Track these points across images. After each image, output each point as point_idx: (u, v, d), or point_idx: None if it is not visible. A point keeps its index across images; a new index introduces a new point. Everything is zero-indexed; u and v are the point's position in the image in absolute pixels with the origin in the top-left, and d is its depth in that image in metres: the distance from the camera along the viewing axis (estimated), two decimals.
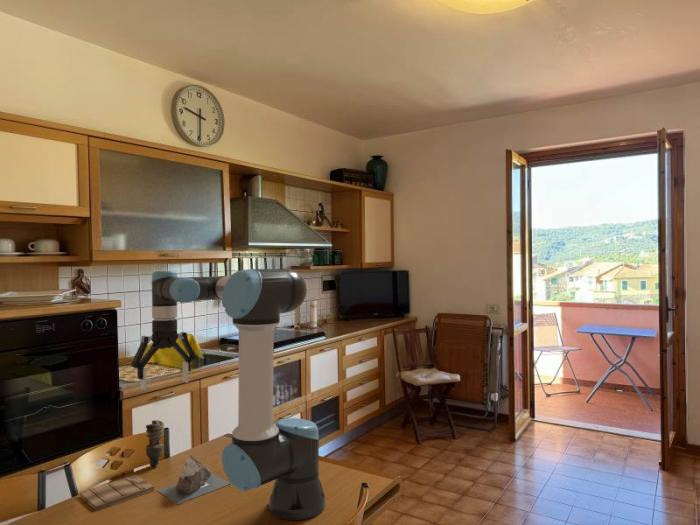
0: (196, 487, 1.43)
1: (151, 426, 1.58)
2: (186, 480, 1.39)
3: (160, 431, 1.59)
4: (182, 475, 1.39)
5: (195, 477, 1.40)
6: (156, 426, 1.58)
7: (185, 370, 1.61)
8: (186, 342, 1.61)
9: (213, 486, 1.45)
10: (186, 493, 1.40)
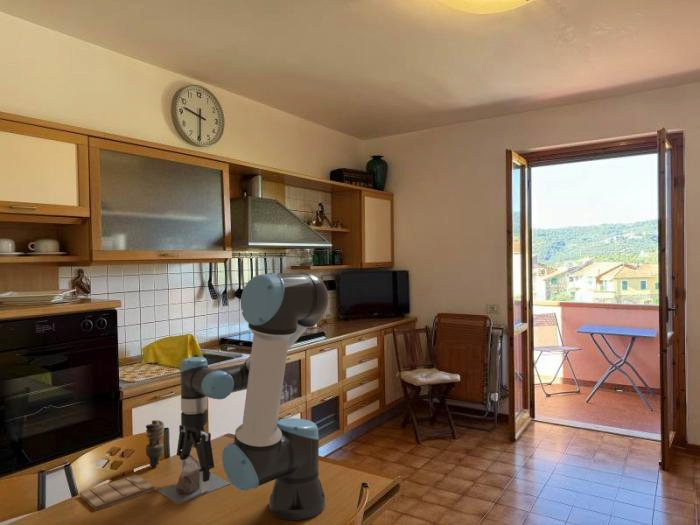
0: (196, 487, 1.43)
1: (151, 426, 1.58)
2: (186, 480, 1.39)
3: (160, 431, 1.59)
4: (182, 475, 1.39)
5: (195, 477, 1.40)
6: (156, 426, 1.58)
7: None
8: (202, 446, 1.40)
9: (213, 486, 1.45)
10: (186, 493, 1.40)
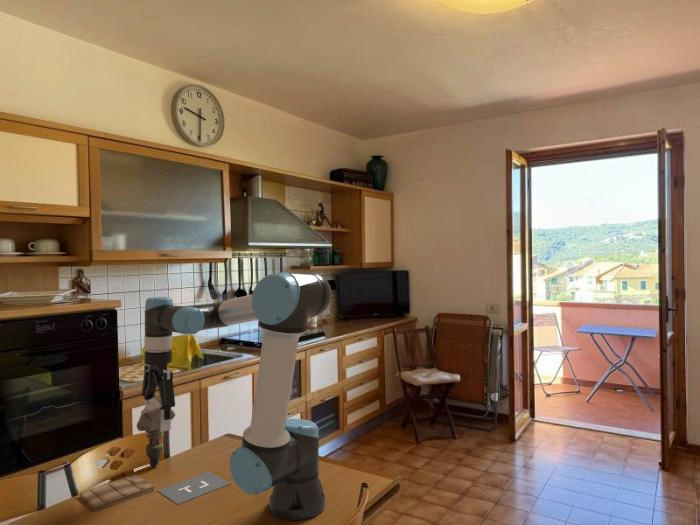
0: (158, 426, 1.42)
1: None
2: (147, 417, 1.38)
3: (160, 431, 1.59)
4: (143, 412, 1.38)
5: (156, 414, 1.39)
6: None
7: None
8: (163, 384, 1.39)
9: (213, 486, 1.45)
10: (147, 430, 1.39)
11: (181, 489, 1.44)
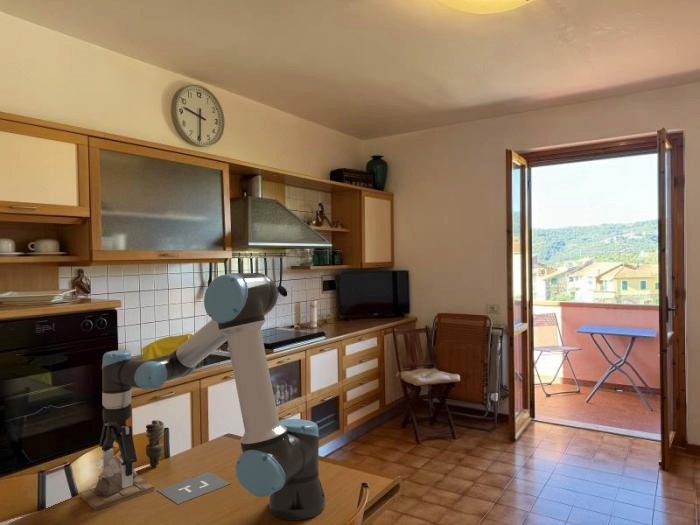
0: (117, 489, 1.39)
1: (151, 426, 1.58)
2: (104, 481, 1.35)
3: (160, 431, 1.59)
4: (100, 476, 1.36)
5: (114, 478, 1.37)
6: (156, 426, 1.58)
7: None
8: (122, 440, 1.36)
9: (213, 486, 1.45)
10: (105, 495, 1.37)
11: (181, 489, 1.44)
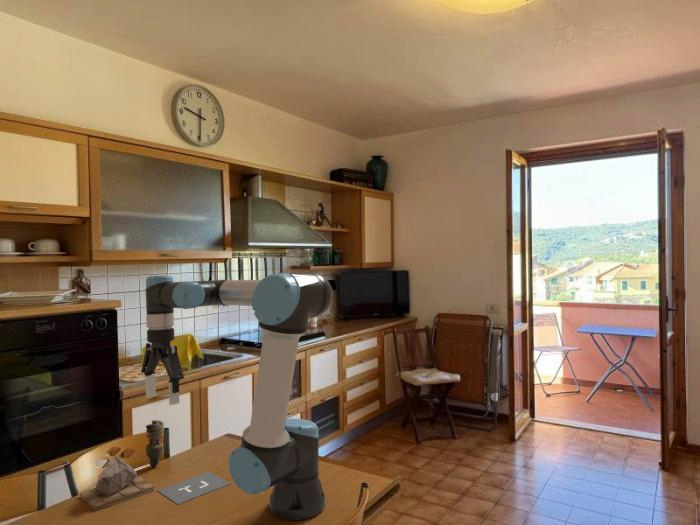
0: (117, 489, 1.39)
1: (151, 426, 1.58)
2: (104, 481, 1.35)
3: (160, 431, 1.59)
4: (100, 476, 1.36)
5: (114, 478, 1.37)
6: (156, 426, 1.58)
7: None
8: (169, 358, 1.39)
9: (213, 486, 1.45)
10: (105, 495, 1.37)
11: (181, 489, 1.44)
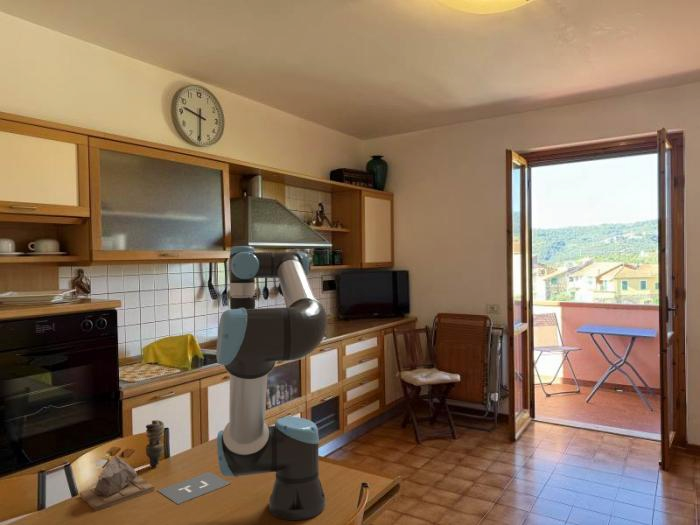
0: (117, 489, 1.39)
1: (151, 426, 1.58)
2: (104, 481, 1.35)
3: (160, 431, 1.59)
4: (100, 476, 1.36)
5: (114, 478, 1.37)
6: (156, 426, 1.58)
7: None
8: None
9: (213, 486, 1.45)
10: (105, 495, 1.37)
11: (181, 489, 1.44)
